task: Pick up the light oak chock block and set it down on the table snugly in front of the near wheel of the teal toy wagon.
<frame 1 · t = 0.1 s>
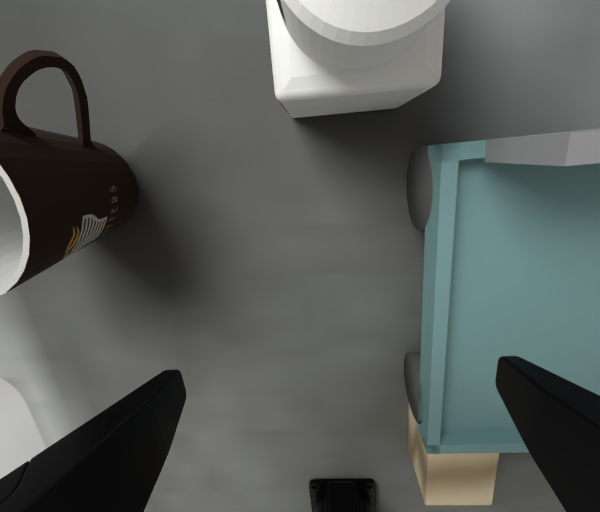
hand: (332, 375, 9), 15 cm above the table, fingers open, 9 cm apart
coffee mug: (112, 176, 22), on the table
medicine bottle: (341, 51, 19), on the table
teal toy wagon: (501, 278, 23), on the table
chock: (436, 422, 27), on the table
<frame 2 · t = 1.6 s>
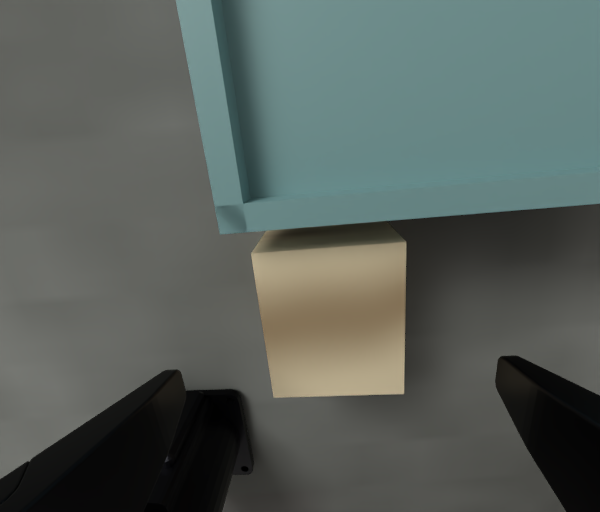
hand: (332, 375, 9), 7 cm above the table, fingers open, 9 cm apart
chock: (328, 274, 15), on the table
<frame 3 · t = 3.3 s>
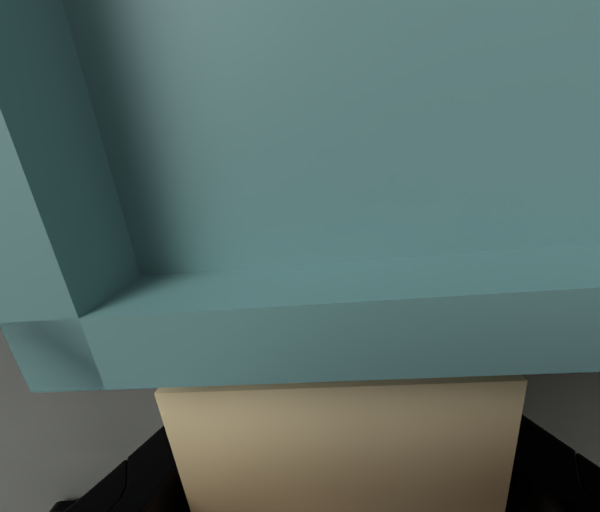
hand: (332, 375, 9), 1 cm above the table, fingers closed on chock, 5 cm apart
chock: (331, 348, 10), on the table, touching gripper
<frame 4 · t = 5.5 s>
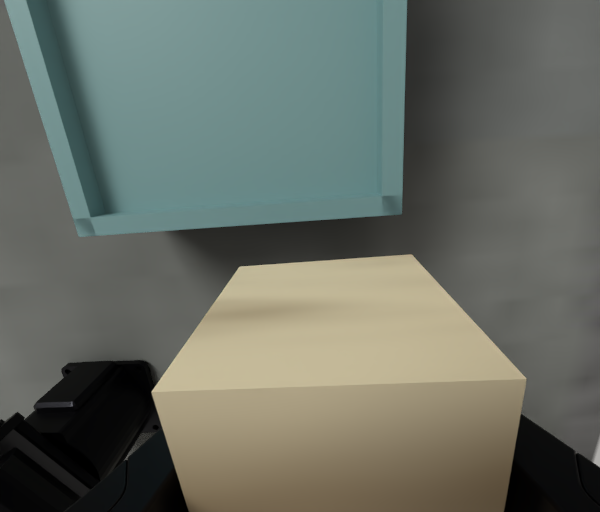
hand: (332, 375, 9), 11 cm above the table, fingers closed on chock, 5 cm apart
teal toy wagon: (235, 9, 15), on the table
chock: (330, 348, 10), point 10 cm above the table, touching gripper
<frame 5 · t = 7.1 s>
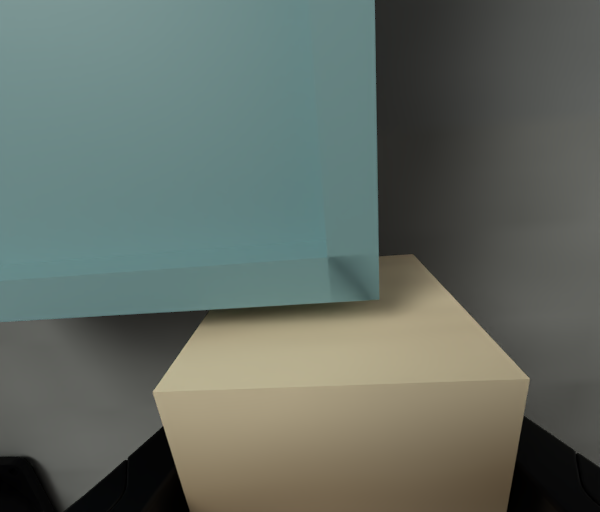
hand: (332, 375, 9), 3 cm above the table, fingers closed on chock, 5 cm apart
chock: (331, 348, 10), point 2 cm above the table, touching gripper
when the fingers open (2 cm above the table, at t = 8.2 s): chock drops 1 cm, on the table.
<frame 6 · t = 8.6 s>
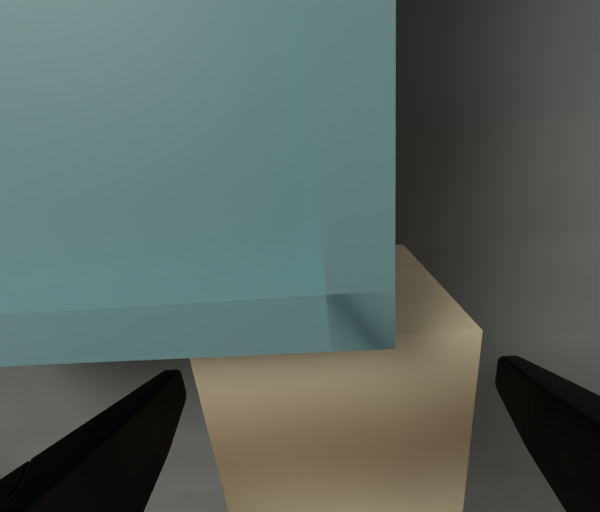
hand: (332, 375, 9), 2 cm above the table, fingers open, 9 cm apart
chock: (329, 329, 11), on the table
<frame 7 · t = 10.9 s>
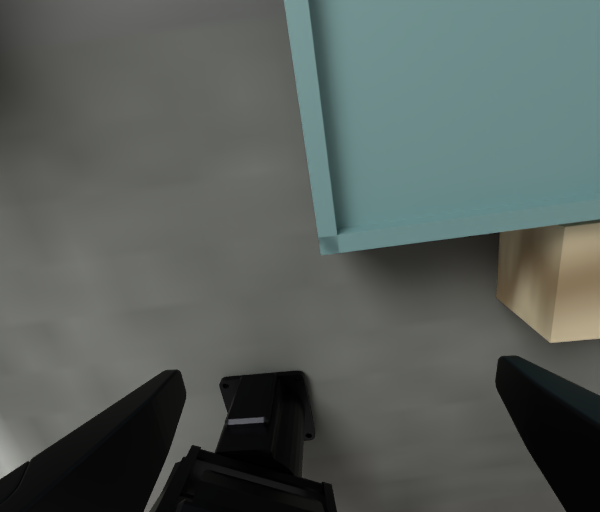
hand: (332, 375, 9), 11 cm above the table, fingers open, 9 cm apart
teal toy wagon: (434, 5, 15), on the table
chock: (540, 248, 19), on the table
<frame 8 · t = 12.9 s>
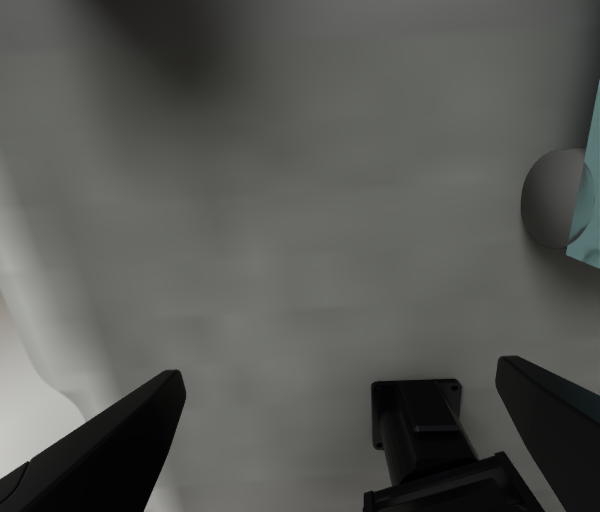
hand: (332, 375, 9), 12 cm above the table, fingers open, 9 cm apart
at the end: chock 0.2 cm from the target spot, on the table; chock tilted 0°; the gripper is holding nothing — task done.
